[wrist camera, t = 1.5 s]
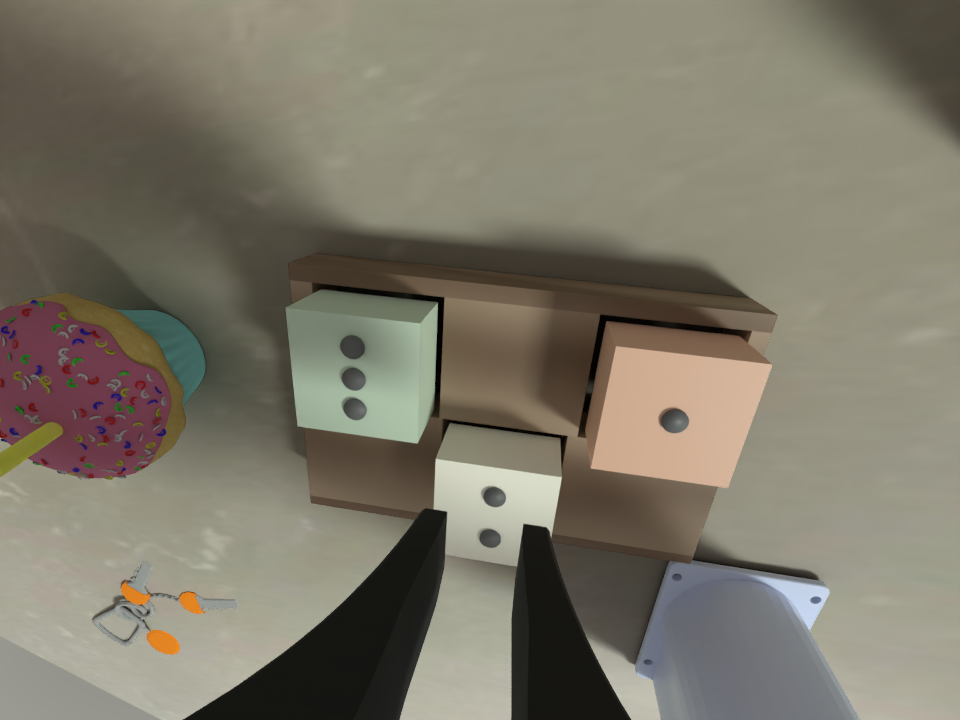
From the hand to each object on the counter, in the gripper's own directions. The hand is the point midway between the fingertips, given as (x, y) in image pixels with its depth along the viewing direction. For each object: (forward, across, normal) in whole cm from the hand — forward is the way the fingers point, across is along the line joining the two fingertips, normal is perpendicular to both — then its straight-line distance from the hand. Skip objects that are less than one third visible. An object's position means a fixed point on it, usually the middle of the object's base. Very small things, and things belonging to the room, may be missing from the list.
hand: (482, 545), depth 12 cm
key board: (+10, 0, +1) cm, 10 cm away
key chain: (+11, +24, +22) cm, 34 cm away
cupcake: (+11, +18, +1) cm, 21 cm away
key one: (+8, -6, -2) cm, 10 cm away
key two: (+8, 0, +4) cm, 9 cm away
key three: (+8, +6, -2) cm, 10 cm away
